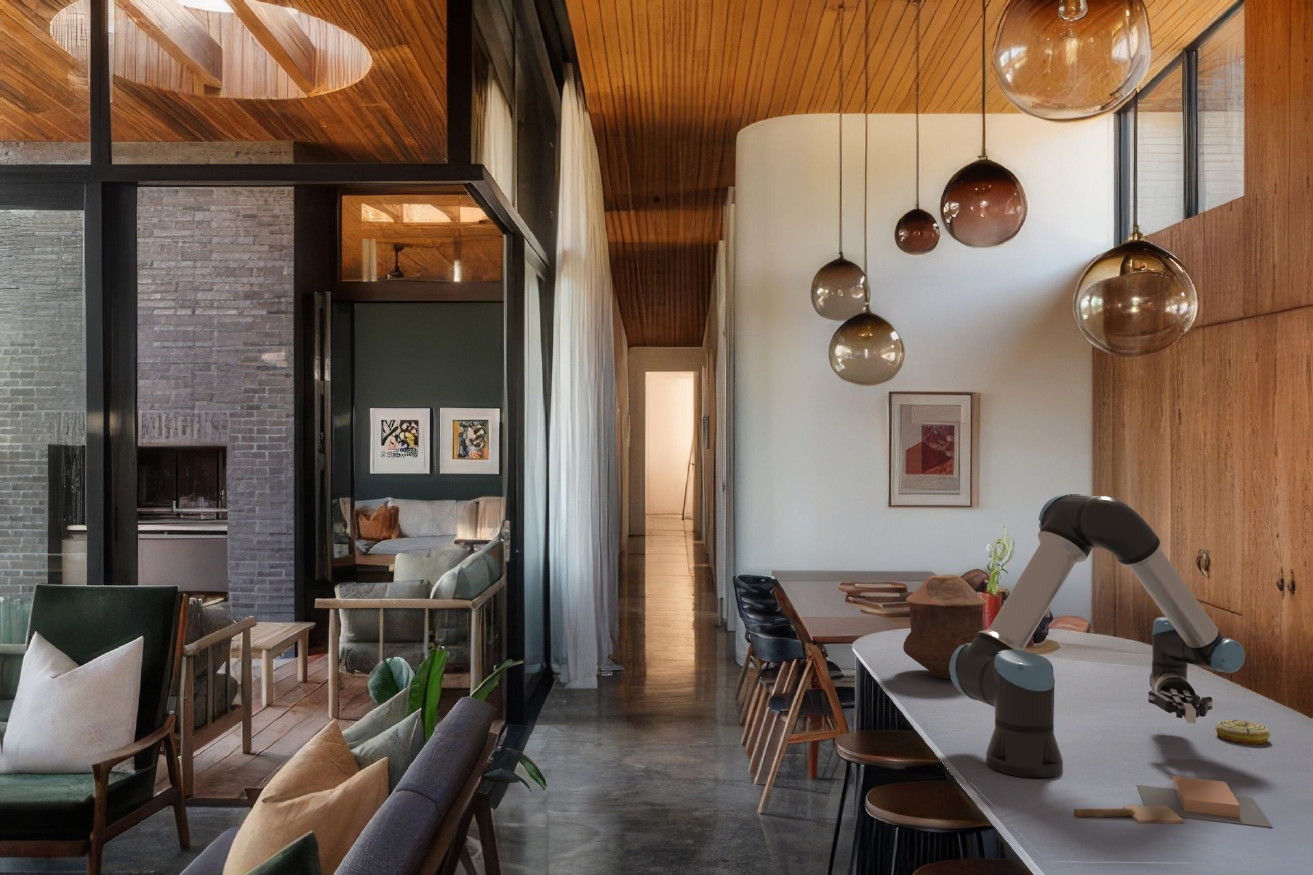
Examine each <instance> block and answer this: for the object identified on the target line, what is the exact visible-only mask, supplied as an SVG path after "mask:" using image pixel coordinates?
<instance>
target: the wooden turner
mask: <svg viewBox="0 0 1313 875" xmlns="http://www.w3.org/2000/svg"><path fill="white" fill-rule="evenodd" d="M1073 815H1074V816H1075V817H1076V818H1121V817H1122V818H1123V817H1124V818H1129V817H1130V818H1132V819H1133V820H1134V821H1135V822H1137V823H1139V824H1140V823H1141V824H1142V823H1143V824H1184V818H1182V817H1179V816H1178V815H1177V814H1176V813H1175V812H1173V811H1172V810H1171V809H1170V808H1169V807H1167V806H1144V805H1122V808H1074V809H1073Z"/></svg>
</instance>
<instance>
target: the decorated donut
mask: <svg viewBox="0 0 1313 875" xmlns="http://www.w3.org/2000/svg"><path fill="white" fill-rule="evenodd" d="M1214 729H1215V730H1216V734H1217V736H1219V737H1221V738H1222V739H1226V740H1227V741H1230V740H1231V741H1232V742H1233V743H1239V742H1240V744H1245V743H1247V744H1246V745H1261V744H1262V743H1263V744H1264V743H1266V742H1267V741H1268V739H1270V736H1271V735H1270V729H1269V728H1268V727H1267V726H1265V725H1263V724H1261V723H1258V722H1257V723H1256V722H1253V721H1248V720H1239V719H1233V720H1232V719H1231V720H1230V719H1228V720H1227V719H1225V720H1221V721H1218V722H1217V723H1216V724H1215V726H1214Z"/></svg>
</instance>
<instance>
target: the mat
mask: <svg viewBox="0 0 1313 875" xmlns="http://www.w3.org/2000/svg"><path fill="white" fill-rule="evenodd" d="M1136 787H1137V790H1138V793H1139V795H1140V799H1141V800H1142V804H1143V806H1167V807H1169V808H1170V809H1171V810H1172V811H1173V812H1175V813H1176V814H1177V815H1178V816H1179V817H1181V818H1182V819H1184V818H1185V819H1193V820H1200V821H1208V822H1216V823H1225V824H1232V825H1233V824H1234V825H1241V826H1242V825H1243V826H1250V827H1256V828H1257V827H1260V828H1267V829H1274V826H1273V825H1272V824H1271V822H1270V820H1269V819H1268V818H1267V817H1266V815H1265V814H1264V812H1263V810H1262V809H1261V807H1260V805H1258V803H1257V802H1256V800H1255V799H1254V797H1248V796H1240V795H1234V797H1235V798H1236V800H1237V801H1238V803H1239V805H1240V818H1238V817H1230V816H1221V815H1213V814H1204V813H1196V812H1187V811H1184V810H1183V808H1182V806H1181V803H1180V801H1179V799H1178V797H1177V795H1176V793H1175V790H1174V788H1168V787H1161V786H1160V787H1159V786H1149V785H1141V784H1136Z"/></svg>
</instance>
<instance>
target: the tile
mask: <svg viewBox="0 0 1313 875" xmlns="http://www.w3.org/2000/svg"><path fill="white" fill-rule="evenodd" d="M1172 786H1173V787H1172V789H1174V790H1175V793H1176V795H1177V797H1178V799H1179V801H1180V803H1181V806H1182V808H1183V810H1184V811H1187V812H1196V813H1204V814H1213V815H1221V816H1230V817H1238V818H1240V805H1239V803H1238V801H1237V800H1236V798H1235V797H1234V796H1235V795H1234V793H1233V792H1232V791H1231V789H1230V787H1229V785H1228V783H1227V782H1226V781H1221V780H1214V779H1213V780H1212V779H1204V778H1196V777H1195V778H1193V777H1183V776H1172Z"/></svg>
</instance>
